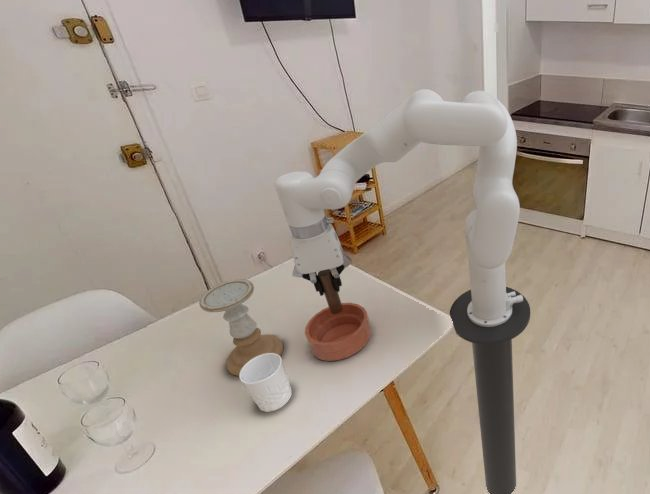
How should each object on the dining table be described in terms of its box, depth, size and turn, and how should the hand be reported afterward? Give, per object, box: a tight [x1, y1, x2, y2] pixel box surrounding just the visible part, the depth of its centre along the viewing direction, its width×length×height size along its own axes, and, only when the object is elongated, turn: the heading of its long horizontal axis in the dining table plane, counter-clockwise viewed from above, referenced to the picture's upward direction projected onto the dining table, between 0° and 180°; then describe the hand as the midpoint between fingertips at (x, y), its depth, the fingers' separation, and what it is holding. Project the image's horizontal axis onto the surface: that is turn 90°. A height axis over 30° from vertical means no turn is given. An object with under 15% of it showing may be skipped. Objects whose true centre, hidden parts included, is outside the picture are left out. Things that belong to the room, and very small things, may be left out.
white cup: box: [238, 353, 293, 413], centre depth 88 cm, size 8×8×10 cm
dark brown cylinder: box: [317, 269, 343, 314], centre depth 100 cm, size 3×3×12 cm
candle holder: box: [199, 278, 284, 377], centre depth 96 cm, size 12×12×20 cm
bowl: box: [304, 302, 372, 362], centre depth 103 cm, size 15×15×6 cm
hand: (330, 289), depth 100 cm, fingers closed on dark brown cylinder, 3 cm apart
